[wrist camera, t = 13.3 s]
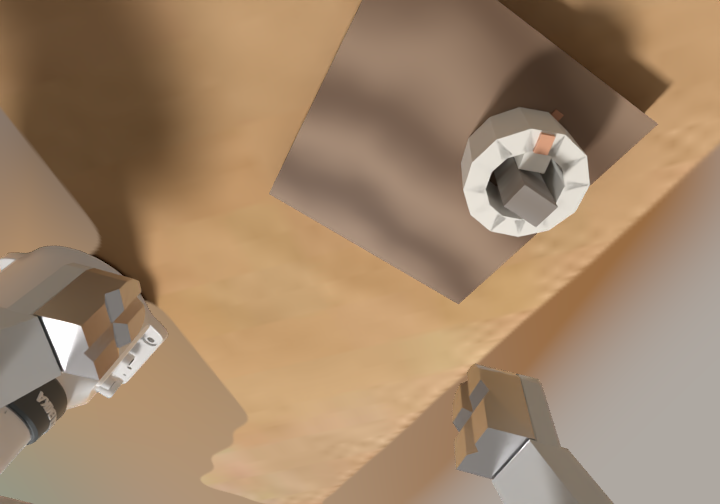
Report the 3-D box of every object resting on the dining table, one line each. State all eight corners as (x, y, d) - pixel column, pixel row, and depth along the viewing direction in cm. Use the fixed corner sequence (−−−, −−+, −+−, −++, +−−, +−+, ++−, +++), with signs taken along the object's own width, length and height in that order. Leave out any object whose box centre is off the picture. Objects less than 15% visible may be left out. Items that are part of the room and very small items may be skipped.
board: (457, 289, 34) (461, 360, 27) (277, 182, 31) (235, 235, 24) (643, 114, 24) (719, 163, 17) (402, -71, 21) (385, -97, 14)
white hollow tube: (543, 211, 26) (558, 247, 23) (451, 194, 27) (452, 226, 23) (588, 119, 22) (614, 145, 19) (480, 100, 23) (486, 122, 19)
